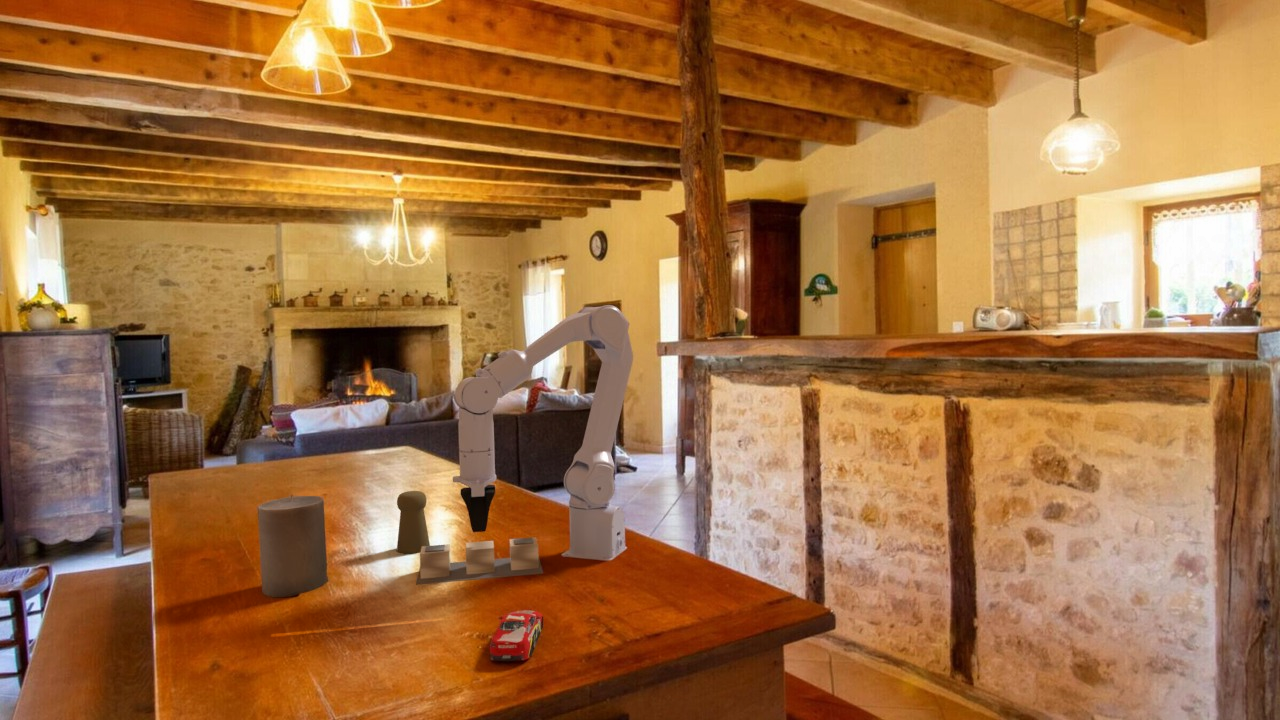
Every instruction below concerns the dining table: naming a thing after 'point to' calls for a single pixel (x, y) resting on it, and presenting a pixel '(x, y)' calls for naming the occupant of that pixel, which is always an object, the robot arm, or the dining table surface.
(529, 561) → the marked block 2
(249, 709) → the dining table surface
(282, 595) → the pillar candle
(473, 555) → the plain block
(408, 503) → the brown game pawn
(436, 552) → the marked block 1
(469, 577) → the mat
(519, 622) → the race car
